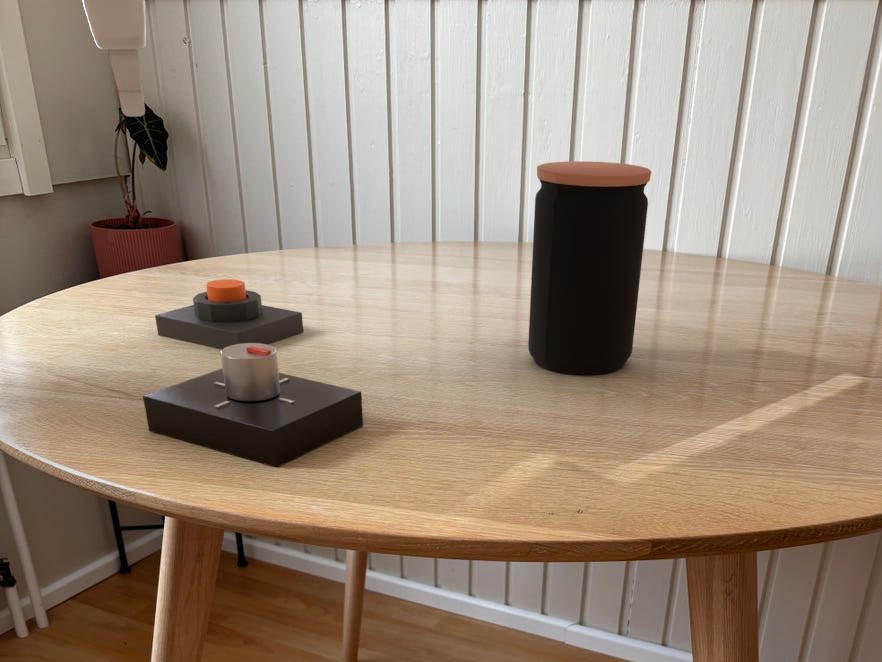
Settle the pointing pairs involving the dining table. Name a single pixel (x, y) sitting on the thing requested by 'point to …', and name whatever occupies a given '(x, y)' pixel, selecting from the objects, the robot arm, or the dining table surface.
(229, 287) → the power button
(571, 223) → the coffee jar
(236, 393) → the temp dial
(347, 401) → the dial panel
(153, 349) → the dining table surface
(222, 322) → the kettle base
